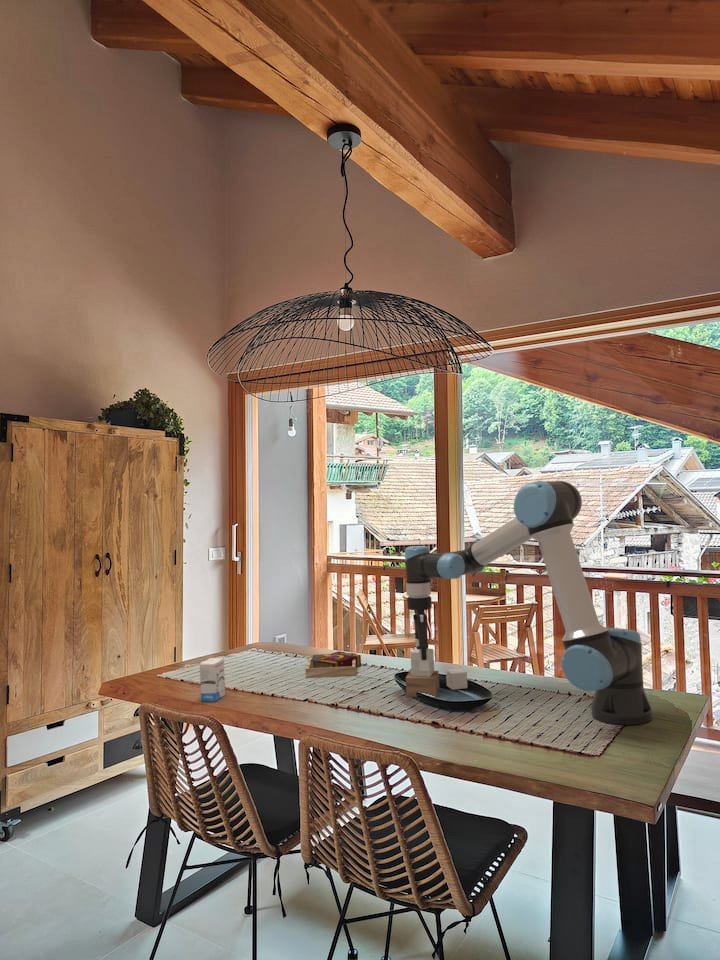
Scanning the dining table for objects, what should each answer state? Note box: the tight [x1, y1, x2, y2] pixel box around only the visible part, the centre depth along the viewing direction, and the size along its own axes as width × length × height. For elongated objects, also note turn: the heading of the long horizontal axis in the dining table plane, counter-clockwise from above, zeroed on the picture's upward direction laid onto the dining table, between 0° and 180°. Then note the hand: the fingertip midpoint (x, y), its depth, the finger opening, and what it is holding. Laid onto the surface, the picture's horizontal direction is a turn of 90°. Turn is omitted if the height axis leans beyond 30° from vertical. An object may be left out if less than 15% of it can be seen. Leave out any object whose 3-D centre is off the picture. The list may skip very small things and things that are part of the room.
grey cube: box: [445, 668, 468, 691], centre depth 219 cm, size 5×5×5 cm
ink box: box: [199, 657, 226, 703], centre depth 218 cm, size 9×5×12 cm, turn 168°
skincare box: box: [410, 647, 435, 677], centre depth 214 cm, size 6×6×7 cm
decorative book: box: [311, 650, 362, 668], centre depth 249 cm, size 11×16×5 cm
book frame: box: [305, 652, 357, 679], centre depth 249 cm, size 22×17×3 cm
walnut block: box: [405, 669, 440, 698], centre depth 214 cm, size 9×9×6 cm
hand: (422, 665), depth 214 cm, fingers open, 13 cm apart
